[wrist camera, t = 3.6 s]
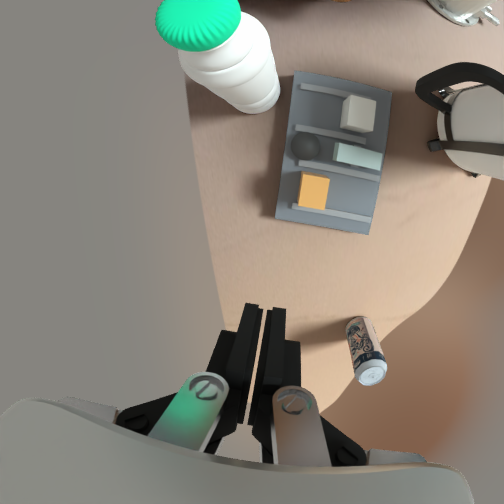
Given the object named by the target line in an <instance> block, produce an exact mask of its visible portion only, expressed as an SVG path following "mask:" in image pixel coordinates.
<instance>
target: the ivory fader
mask: <svg viewBox="0 0 504 504" xmlns="http://www.w3.org/2000/svg"><path fill="white" fill-rule="evenodd" d="M375 110H376V101H374V100H370V99H366V98H362V97H358V96H354V95H350V96H349V97H348V98H347V99H345V100H344V101H343V106H342V114H341V122H340V128H342V129H347V130H351V131H355V132H360V133H366V132H371V131H373V127H374V119H375Z"/></svg>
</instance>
